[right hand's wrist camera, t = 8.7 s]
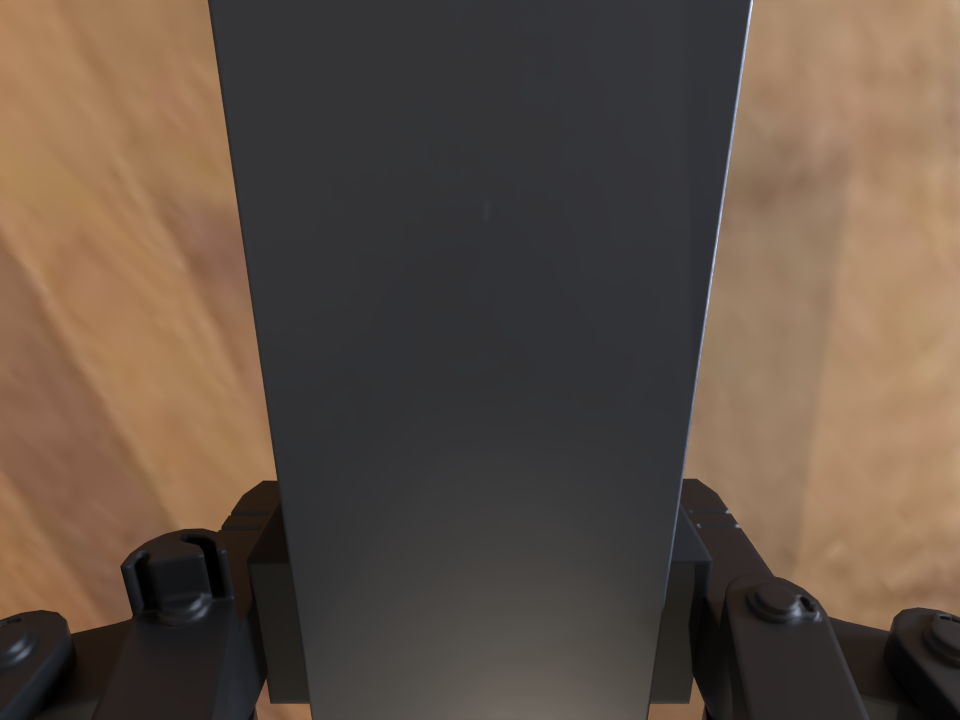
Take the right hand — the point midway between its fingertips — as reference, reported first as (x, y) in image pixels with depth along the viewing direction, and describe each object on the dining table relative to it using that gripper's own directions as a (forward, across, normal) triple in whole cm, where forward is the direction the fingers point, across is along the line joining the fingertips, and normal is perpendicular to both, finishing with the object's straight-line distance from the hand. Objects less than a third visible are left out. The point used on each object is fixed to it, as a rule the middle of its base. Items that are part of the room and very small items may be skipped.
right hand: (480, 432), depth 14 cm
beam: (0, 0, -11) cm, 11 cm away
